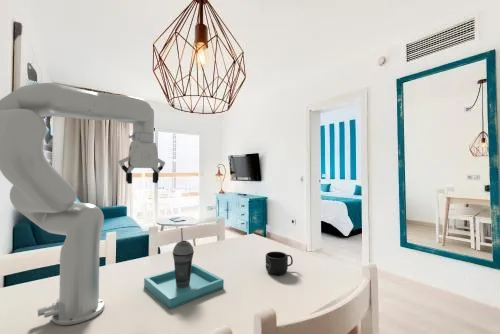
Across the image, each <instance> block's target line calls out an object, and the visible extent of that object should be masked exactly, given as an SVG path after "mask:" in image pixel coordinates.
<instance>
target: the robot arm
mask: <svg viewBox="0 0 500 334" xmlns="http://www.w3.org/2000/svg"><path fill="white" fill-rule="evenodd" d="M45 117H46V118H47V117H57V118H58V117H60V118H69V119H70V118H71V119H79V120H88V121H110V120H115V121H116V122H118V123H121V124H123V123H124V124H132V133H131V134H128V139H131V141H130V145H129V149H128V156H126V157H124V158H122V159H120V160H118V164H119V166H120V168H121V170H122V171H124V173H125V182H127V184H131V185H132V184H133V173H132V171H133V170H134V169H139V168H140V169H151V170H152V171H153V173H152V183H154V184H158V181H159V173H161V171H162V170H163V169H164V166H165V165H166V161H164V160H162V159H160V158H159V155H158V147H157V143H156V142H155V141H154V139H155V137H154V135H155V134H154V132H155V111H154V108H153V107H152V106H151V104H150V103H149V102H148V101H147V100H145V99H143V98H139V97H134V96H129V95H124V94H123V95H121V94H113V93H106V92H99V91H97V92H96V91H92V90H87V89H82V88H78V87H73V86H69V85H65V84H59V83H55V82H54V83H53V82H41V83H35V84H34V83H33V84H29V85H28V84H26V85H24V86H20V87H18V88H17V89H16V88H15V90H13V91H11V92H10V93H8V94H7V95H5V96H4V97H3V98H1V99H0V173H1V174H2V176H3V177H4V178H5V179H6V180H7V181H8V182H9V183H11V185H12V186H11V188H10V190H9V191H10V192H9V199H10V202H11V204H12V206H13V207H14V208H15V209H16V210H17V211H18V212H19V213H20V214H22V215H23V216H24V217H25V218H27V219H28V220H29V221H31V222H32V223H34V224H35V225H36V226H38V227H39V228H40V229H42V230H43V231H46V232H47V233H49V234H54V235H60V236H61V235H62V236H66V237H65V240H64V242H63V243H62V245H61V247H60V253H59V293H58V295H59V296H58V297H59V298H56V302H54V303H52V305H49V306H43V307H40V308H37V317H42V316H43V318H44V319H45V318H49V317H51V321H52V322H53V323H54V324H55V325H59V326H69V325H71V326H72V325H75V324H80V323H83V322H86V321H88V320H90V319H93V318H95V317H96V316H99V314H101V312H103V310H104V309H105V307H106V306H105V303H106V302H105V301H104V299H102V298H100V243H101V236H102V235H101V234H102V232H103V227H104V221H105V216H104V213H103V211H102V209H101V208H100V207H99V206H97V205H95V204H93V203H87V202H77V193H76V189H74V187H73V186H72V184H70V182H68V181H67V179H65V178H64V177H63V176H62V174H60V173H59V171H58V170H56V169H55V167H54V166H52V165H51V163H50V162H49V161H48V160H47V158H46V156H45V152H44V143H45V140H46V136H47V124H46V122H45V120H44V118H45ZM126 162H127V166H128V167H127V166H126V165H125V163H126Z"/></svg>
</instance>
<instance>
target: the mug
mask: <svg viewBox="0 0 500 334" xmlns="http://www.w3.org/2000/svg"><path fill="white" fill-rule="evenodd" d="M289 257H290V263H289V261H288V260H289ZM288 263H289V264H288ZM293 263H294V260H293V256H292V255H290V254H287V253H286V252H282V251H269V252H267V253H266V254H265V270H266V272H267V273H269V274H271V275H273V276H281V275H283V274H286V273H287V271H288V269H289V268H288V267H290V266H292V265H293Z"/></svg>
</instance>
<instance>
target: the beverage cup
mask: <svg viewBox="0 0 500 334" xmlns="http://www.w3.org/2000/svg"><path fill="white" fill-rule="evenodd" d="M183 234H184V232H183V227H181V228H180V237H181V238H180V239H181V241H178V242H177V243H176V244H175V245H174V247H173V250H172V258H173V262H174V269H175V279H176V287H177V288H186V287H188V286H189V283H190V276H191V266H192V264H193V258H194V247H193V244H191V243H190V242H189V241H188V240H184V236H183Z"/></svg>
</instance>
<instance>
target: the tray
mask: <svg viewBox="0 0 500 334" xmlns="http://www.w3.org/2000/svg"><path fill="white" fill-rule="evenodd" d="M143 279H144V281H143V284H144V285H143V287H144V288H145V289H146V290H147V291H149V292H150V294H152V295H153V296H154V297H156V298H157V299H158V300H159V301H160V302H161V303H162V304H163V305H164V306H166V307H167V308H168V309H169V310H172V309H174V308H177V307H179V306H180V307H181V305H185V304H187V303H189V302H193V301H194V300H197V299H200V298H202V297H205V296H209V294H210V295H211V294H212V293H215V292H217V291H220V290H223V289H224V280H225V279H224V278H221V277H220V276H218V275H215V274H214V273H211V272H210V271H208V270H206V269H204V268H202V267H200V266H198V265H196V264H194V263H192V266H191V276H190V283H189V286H188V287H186V288H177V287H176V279H175V268H174V269H172V270H168V271H164V272H161V273H156V274H154V275H150V276H146V277H144V278H143Z"/></svg>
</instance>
